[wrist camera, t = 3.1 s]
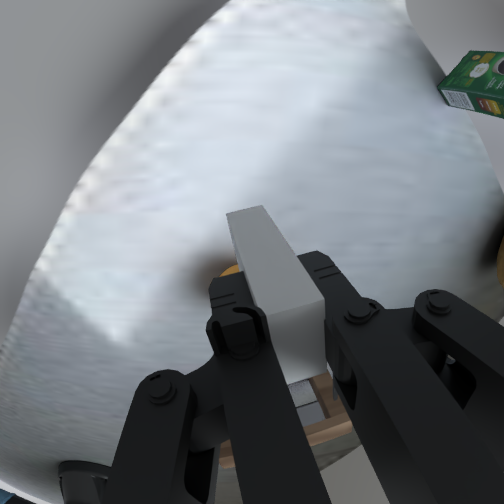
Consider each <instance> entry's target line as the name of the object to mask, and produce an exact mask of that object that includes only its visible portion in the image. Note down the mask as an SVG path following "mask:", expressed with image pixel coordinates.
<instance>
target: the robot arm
mask: <svg viewBox="0 0 504 504" xmlns="http://www.w3.org/2000/svg"><path fill="white" fill-rule="evenodd" d="M226 216H227V220H228V225H229V229H230V233H231V238H232V242H233V246H234V251H235V255H236V259H237V263H238V267H239V271H240V272H237V273H233V274H229V275H225V276H221V277H217V278H214V279H213V281H212V283H211V285H210V287H209V295H210V302H211V308H212V316H211V317H210V319H209V320H208V322H207V325H206V333H207V336H208V338H209V341H210V343H211V346H212V349H213V351H214V354H213V356H212V357H211V359H210V360H209V361H208V362H207V363H206V364H205V365H203V366H202V367H200V368H198V369H197V370H195V371H193V372H191V373H189V374H187V375H184V374H182V373H180V372H179V371H176V370H169V369H167V370H161V371H157V372H154V373H152V374H150V375H148V376H147V377H146V378H145V379H144V380H143V381H141V382H140V384H139V386H138V388H137V389H136V391H135V394H134V397H133V400H132V403H131V406H130V409H129V412H128V415H127V418H126V421H125V424H124V428H123V431H122V434H121V437H120V440H119V443H118V447H117V450H116V453H115V456H114V460H113V463H112V467H111V468H110V467H106V466H103V465H99V464H94V463H89V462H82V461H67V462H63V463H61V464H60V465H59V470H58V479H59V483H60V488H61V492H62V496H63V500H64V504H214V501H215V492H216V483H217V474H218V465H219V456H220V447H221V443H223V442H225V441H227V440H229V439H230V443H231V448H232V453H233V458H234V463H235V468H236V472H237V477H238V482H239V486H240V491H241V496H242V500H243V504H332V503H331V500H330V498H329V495H328V493H327V490H326V487H325V485H324V482H323V479H322V477H321V474H320V471H319V469H318V466H317V463H316V461H315V458H314V455H313V453H312V450H311V447H310V445H309V442H308V439H307V437H306V434H305V431H304V429H303V426H302V423H301V421H300V418H299V415H298V413H297V410H296V407H295V404H294V402H293V399H292V396H291V394H290V391H289V388H288V385H287V384H291V383H294V382H297V381H301V380H304V379H307V378H310V377H313V376H316V375H319V374H323V373H326V372H327V362H328V364H329V366H330V368H331V370H332V371H333V399H334V401H336V400H337V399H338V395H339V397H340V399H341V402H342V404H343V406H344V408H345V410H346V412H347V414H348V416H349V418H350V420H351V422H352V424H353V426H354V429H355V431H356V433H357V435H358V437H359V439H360V441H361V443H362V445H363V447H364V449H365V451H366V453H367V456H368V458H369V460H370V462H371V464H372V466H373V468H374V471H375V473H376V475H377V477H378V479H379V481H380V483H381V485H382V488H383V490H384V492H385V494H386V496H387V498H388V500H389V503H390V504H504V472H503V471H504V327H503V326H502V325H500V324H499V323H497V322H496V321H494V320H493V319H491V318H490V317H488V316H487V315H485V314H484V313H482V312H480V311H479V310H477V309H476V308H474V307H473V306H471V305H470V304H468V303H466V302H465V301H463V300H462V299H460V298H458V297H457V296H455V295H454V294H452V293H449V292H447V291H445V290H438V289H433V290H427V291H424V292H422V293H420V294H419V295H418V296H417V297H416V299H415V304H414V307H410V308H401V309H385V308H384V307H383V306H382V305H381V304H379V303H378V302H377V301H375V300H372V299H369V298H364V297H361V296H360V294H359V293H358V292H357V291H356V289H355V288H354V287H353V286H352V285H351V283H350V282H349V281H348V280H347V278H346V277H345V276H344V275H343V273H341V271H340V270H339V269H338V267H337V266H335V264H334V262H333V261H332V260H331V259H330V258H329V256H327V255H325V254H323V253H321V252H319V251H313V252H309V253H305V254H302V255H298V256H296V255H295V253H294V252H293V250H292V249H291V247H290V246H289V244H288V243H287V241H286V240H285V238H284V237H283V235H282V234H281V232H280V231H279V229H278V228H277V226H276V225H275V223H274V222H273V220H272V219H271V217H270V216H269V214H268V213H267V212H266V210H265V209H264V207H263V206H262V205H260V206H256V207H251V208H247V209H243V210H239V211H235V212H231V213H227V214H226ZM448 354H449V355H450V356H451V357H453V358H454V359H455V360H451V359H450V358H448ZM0 504H36V503H33V502H31V501H28V500H26V499H24V498H22V497H19V496H17V495H16V494H15V493H10V492H7V491H5V490H3V489H0Z"/></svg>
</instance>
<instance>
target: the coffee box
mask: <svg viewBox="0 0 504 504" xmlns="http://www.w3.org/2000/svg"><path fill="white" fill-rule="evenodd" d="M437 88H438V90H439V91H440V93H441V94H442V96H443V98H444V99H445V101H446V103H447V105H448V106H451V107H456V108H461V109H466V110H470V111H475V112H479V113H483V114H488V115H491V116H495V117H499V118H503V119H504V52H493V51H469V53H468V54H467V55H466V56H464V57H463V58H462V60H461V62H460V63H459V64H458V65H457V66H456V67H455V68H454V69H453V70H452V72H451V73H450V74H449V75H448V76H447V77H446V78H445V79H444V80H443V81H442V82H441V84H440V85H439V86H438V87H437Z"/></svg>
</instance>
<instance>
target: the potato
mask: <svg viewBox="0 0 504 504" xmlns="http://www.w3.org/2000/svg"><path fill="white" fill-rule="evenodd" d="M497 276H498V279H499V282H500V284H501V285H502V287H503V288H504V236H503V239H502V242H501V245H500V248H499V251H498V255H497Z"/></svg>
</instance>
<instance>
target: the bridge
mask: <svg viewBox="0 0 504 504" xmlns="http://www.w3.org/2000/svg"><path fill="white" fill-rule="evenodd" d="M309 382H310V384H311V386H312V389H313V391H314V393H315V395H316V398H317V400H318V402H319V404H320V407H321V409H322V411H323V413H324V416H325V418H326V419H325V420H323V421H320V422H317V423H314V424H311V425H308V426H304V427H303V429H304V431H305V434H306V437H307V439H308V442H309V445H310V446H313V445H316V444H319V443H322V442H325V441H328V440H331V439H334V438H336V437H339V436H342V435H344V434H347V433H349V432H351V430H352V422H351V420H350V418H349V416H348V414H347V412H346V410H345V408H344V406H343V404H342V402H341V399H340V397H339V395H338V399H337V400H336V401H334V399H333V379H332V377H331V375H330V373H329V371H328V369H327V372H326V373H323V374H319V375H316V376H313V377H310V378H309ZM219 463H220V465H221V466H222V467H223V469H225V468H230V467H235V463H234V458H233V453H232V448H231V443H230V439H229V440H227V441H225V442H223V443H221V447H220V456H219Z"/></svg>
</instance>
